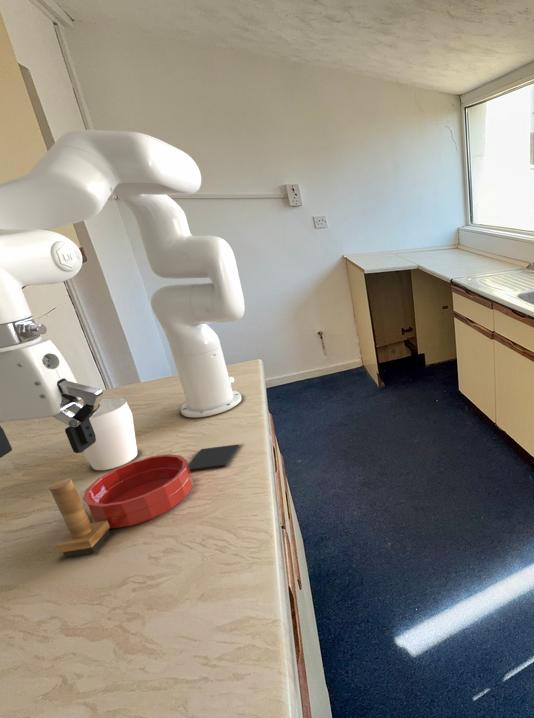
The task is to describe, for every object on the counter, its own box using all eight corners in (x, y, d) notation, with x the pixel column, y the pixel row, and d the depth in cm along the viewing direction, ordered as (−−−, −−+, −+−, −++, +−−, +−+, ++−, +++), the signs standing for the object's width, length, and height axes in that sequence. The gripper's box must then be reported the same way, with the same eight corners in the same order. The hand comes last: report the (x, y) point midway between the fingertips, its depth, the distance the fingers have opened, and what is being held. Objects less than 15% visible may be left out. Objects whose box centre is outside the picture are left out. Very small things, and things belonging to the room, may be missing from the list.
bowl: (126, 482, 74) (117, 460, 73) (206, 471, 77) (200, 450, 76) (72, 537, 62) (60, 512, 61) (169, 522, 65) (161, 498, 64)
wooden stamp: (82, 537, 62) (54, 477, 58) (113, 533, 63) (87, 473, 59) (62, 559, 59) (31, 496, 55) (94, 553, 60) (66, 491, 56)
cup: (107, 477, 76) (85, 423, 72) (71, 471, 77) (48, 417, 73) (156, 450, 84) (139, 399, 80) (123, 444, 86) (104, 395, 82)
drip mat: (202, 450, 84) (201, 448, 84) (239, 446, 85) (238, 444, 85) (185, 471, 77) (184, 469, 77) (225, 466, 79) (225, 464, 79)
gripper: (97, 322, 55) (134, 430, 60) (-65, 332, 51) (-10, 446, 56) (52, 339, 48) (99, 459, 53) (-139, 352, 44) (-68, 479, 49)
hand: (43, 452), depth 55 cm, fingers open, 9 cm apart
